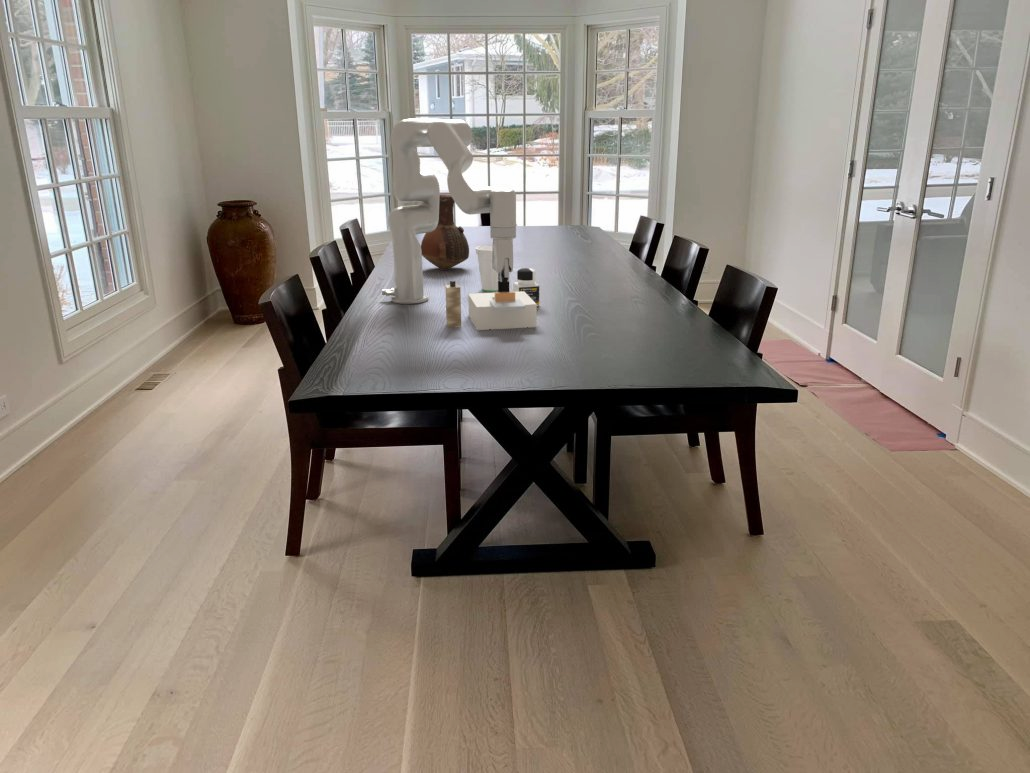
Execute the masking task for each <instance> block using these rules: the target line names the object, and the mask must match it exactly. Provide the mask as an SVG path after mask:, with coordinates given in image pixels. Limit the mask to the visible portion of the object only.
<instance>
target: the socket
mask: <svg viewBox="0 0 1030 773" xmlns="http://www.w3.org/2000/svg"><path fill="white" fill-rule="evenodd" d="M467 296H468V297H467V298H468V300H467V301H468V305H467V306H468V316H469V319H470V318H471V319H470V320H471V323H472V324H473V326H474V328H475V327H476V328H475V330H476V331H487V330H489V329H491V330H505V329H508V330H509V329H524V328H527V327H528V328H537V315H538V314H537V313H538V312H537V307H538V306H537V304H536V303H535V302H534V301H533V300H532V299H531V298H530V297H529V296H528V295H527V294H526V293H525V292H524V291H520V292H515V299H520V301H521V302H522V303H523V304H524V305H525V309H511V310H494V308H493V307H492V306H491V304H490V300H495V292H480V293H479V292H478V293H468V295H467ZM489 331H490V330H489Z"/></svg>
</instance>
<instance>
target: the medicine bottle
mask: <svg viewBox="0 0 1030 773" xmlns="http://www.w3.org/2000/svg"><path fill="white" fill-rule="evenodd" d="M516 272H517V273H516V274H517V275H516V276H517V278H516V279H517V281H514V282H513V291H512V292H520V291H524V292H525V293H526V294H527V295H528V296H529V297H530V298H531V299H532V300H533V301H534V302H535V303H536V304H537V305H539V306H540V285H539V284H538V283H536V270H535V269H534V268H529V267H523V268H520V269H518V270H517V271H516Z"/></svg>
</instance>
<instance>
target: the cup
mask: <svg viewBox="0 0 1030 773" xmlns="http://www.w3.org/2000/svg"><path fill="white" fill-rule="evenodd" d="M492 247H493V244H488V245H479V246H476V247H475V254H476V255H477V260H478V268H479V277H480V285H481V290H482V291H483V292H485V291H489V292H488V293H495V292H496V291H498V273H497V272H496V271H495V270H494V269H493V268H492Z"/></svg>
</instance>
